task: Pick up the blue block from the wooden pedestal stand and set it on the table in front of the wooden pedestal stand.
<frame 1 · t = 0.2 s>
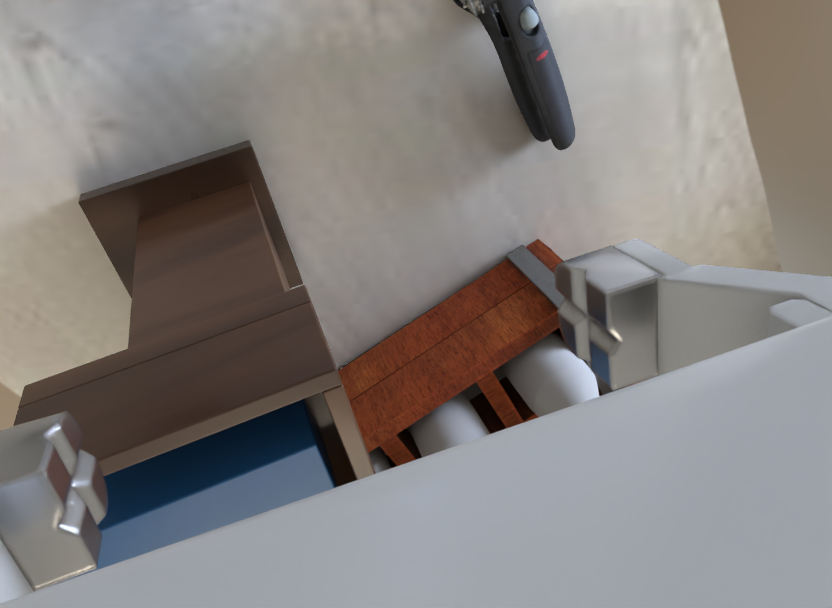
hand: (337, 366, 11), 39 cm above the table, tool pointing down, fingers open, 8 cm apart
can opener: (507, 38, 50), on the table
wooden pedestal stand: (199, 238, 50), on the table
milk bottle holder: (438, 398, 65), on the table
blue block: (179, 468, 30), point 24 cm above the table, touching wooden pedestal stand
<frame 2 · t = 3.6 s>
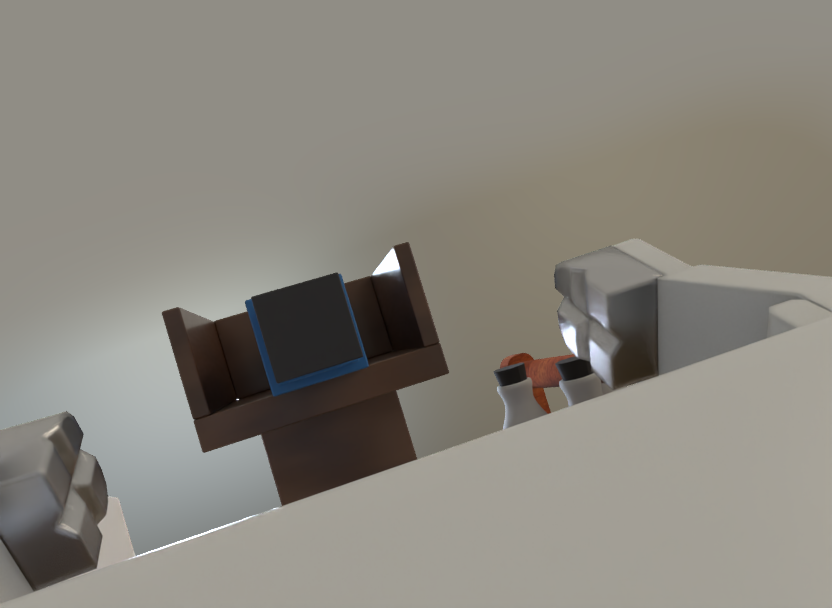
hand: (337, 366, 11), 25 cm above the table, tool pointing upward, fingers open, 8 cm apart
milk bottle holder: (687, 570, 54), on the table
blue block: (319, 377, 34), point 24 cm above the table, touching wooden pedestal stand
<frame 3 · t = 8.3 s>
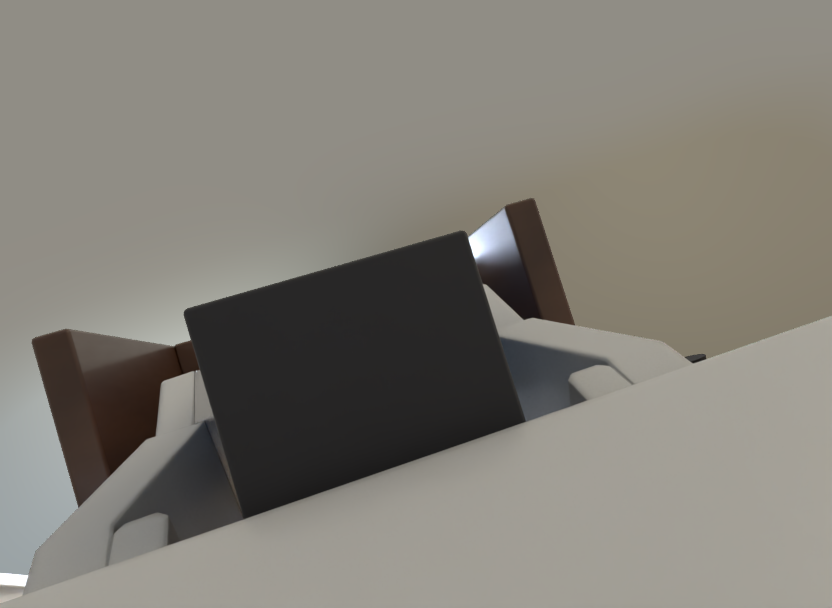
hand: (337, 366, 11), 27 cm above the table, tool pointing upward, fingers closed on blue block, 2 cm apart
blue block: (353, 454, 19), point 24 cm above the table, touching wooden pedestal stand, gripper
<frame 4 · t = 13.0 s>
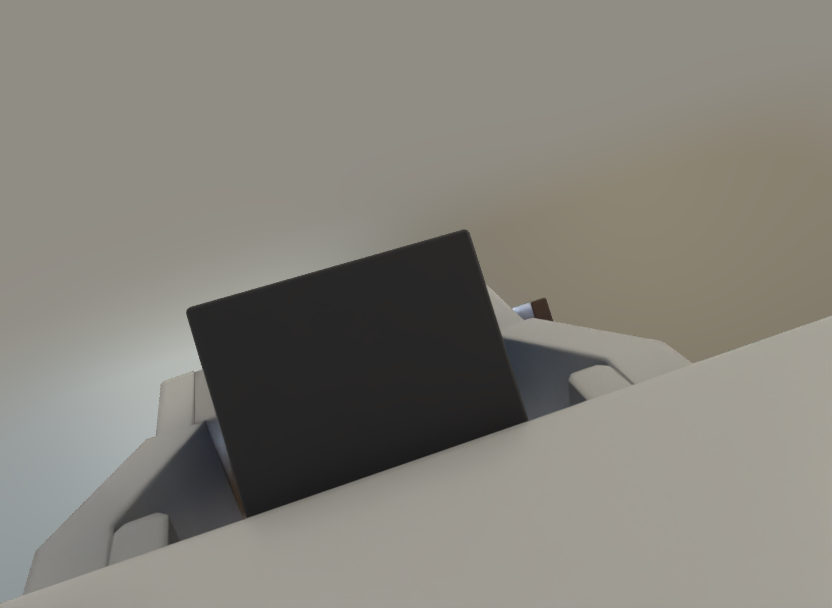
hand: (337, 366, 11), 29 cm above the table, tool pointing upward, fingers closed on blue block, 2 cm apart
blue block: (352, 454, 19), point 26 cm above the table, touching gripper
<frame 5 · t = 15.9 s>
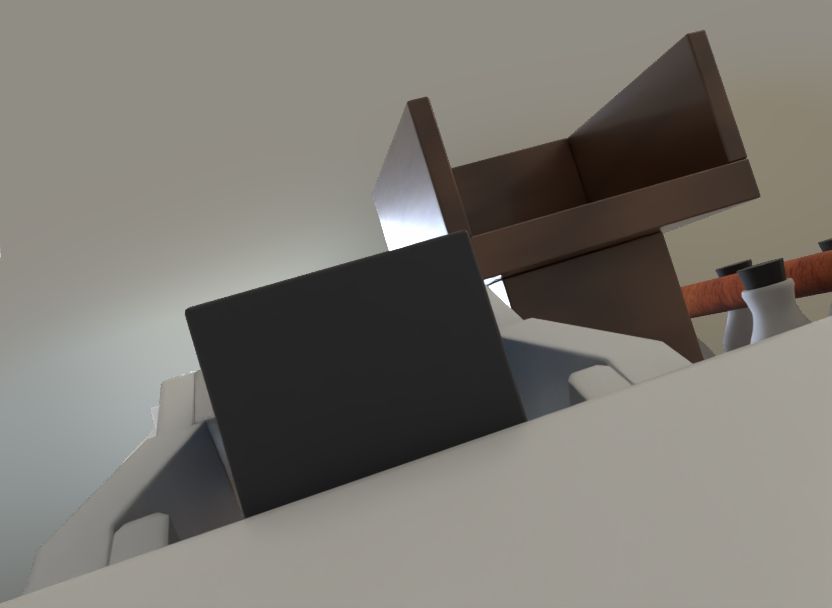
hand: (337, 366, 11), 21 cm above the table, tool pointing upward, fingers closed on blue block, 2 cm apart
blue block: (352, 454, 19), point 19 cm above the table, touching gripper
when the fingers open (16 cm above the table, at t = 18.0 s): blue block drops 13 cm, on the table.
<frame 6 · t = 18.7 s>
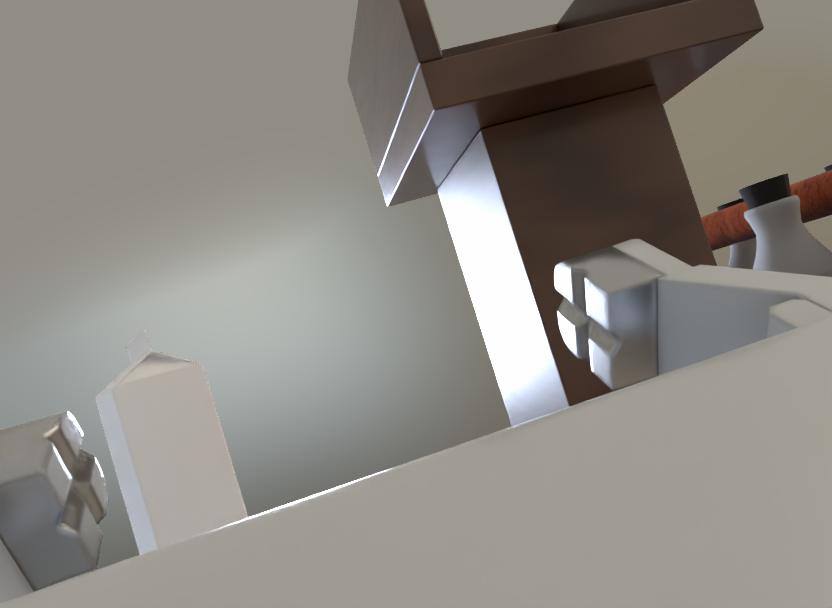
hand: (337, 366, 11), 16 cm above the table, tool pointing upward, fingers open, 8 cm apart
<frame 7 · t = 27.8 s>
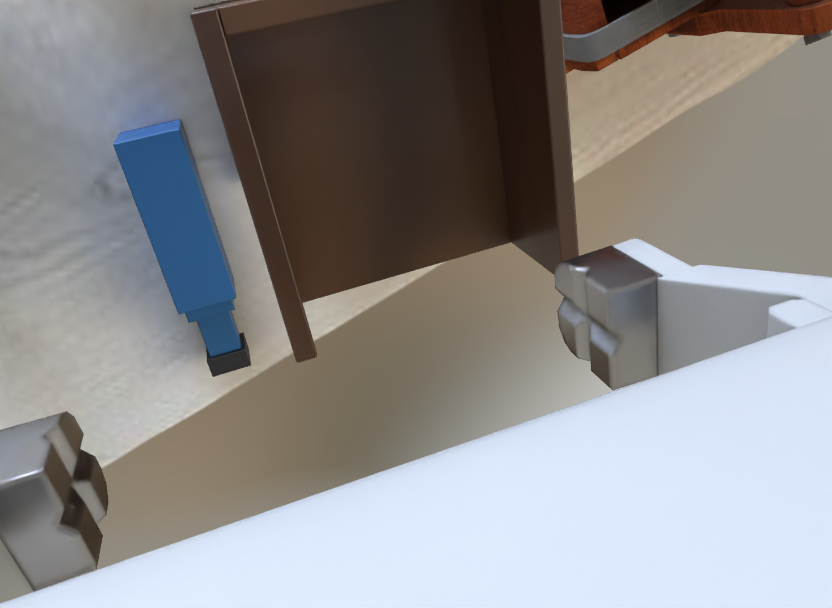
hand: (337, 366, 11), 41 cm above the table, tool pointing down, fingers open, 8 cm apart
wooden pedestal stand: (301, 80, 48), on the table
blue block: (180, 210, 49), on the table
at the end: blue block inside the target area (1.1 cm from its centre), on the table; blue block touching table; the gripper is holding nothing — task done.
